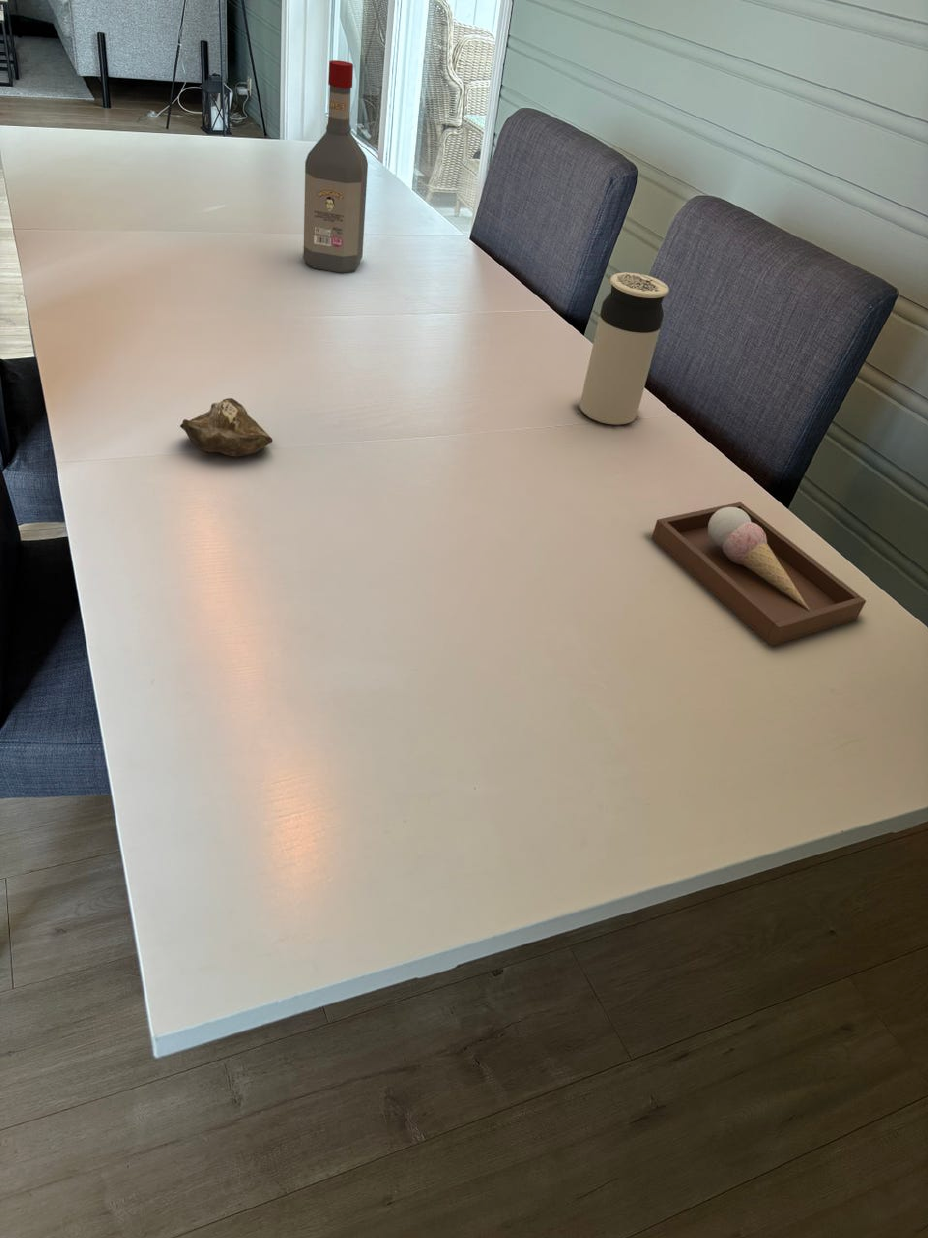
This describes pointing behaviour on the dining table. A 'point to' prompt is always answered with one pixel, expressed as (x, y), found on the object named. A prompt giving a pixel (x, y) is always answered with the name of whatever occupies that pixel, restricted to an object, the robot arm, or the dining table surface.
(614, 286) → the travel mug
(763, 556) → the ice cream cone
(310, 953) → the dining table surface
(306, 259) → the liquor
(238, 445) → the fossilized seashell
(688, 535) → the tray
